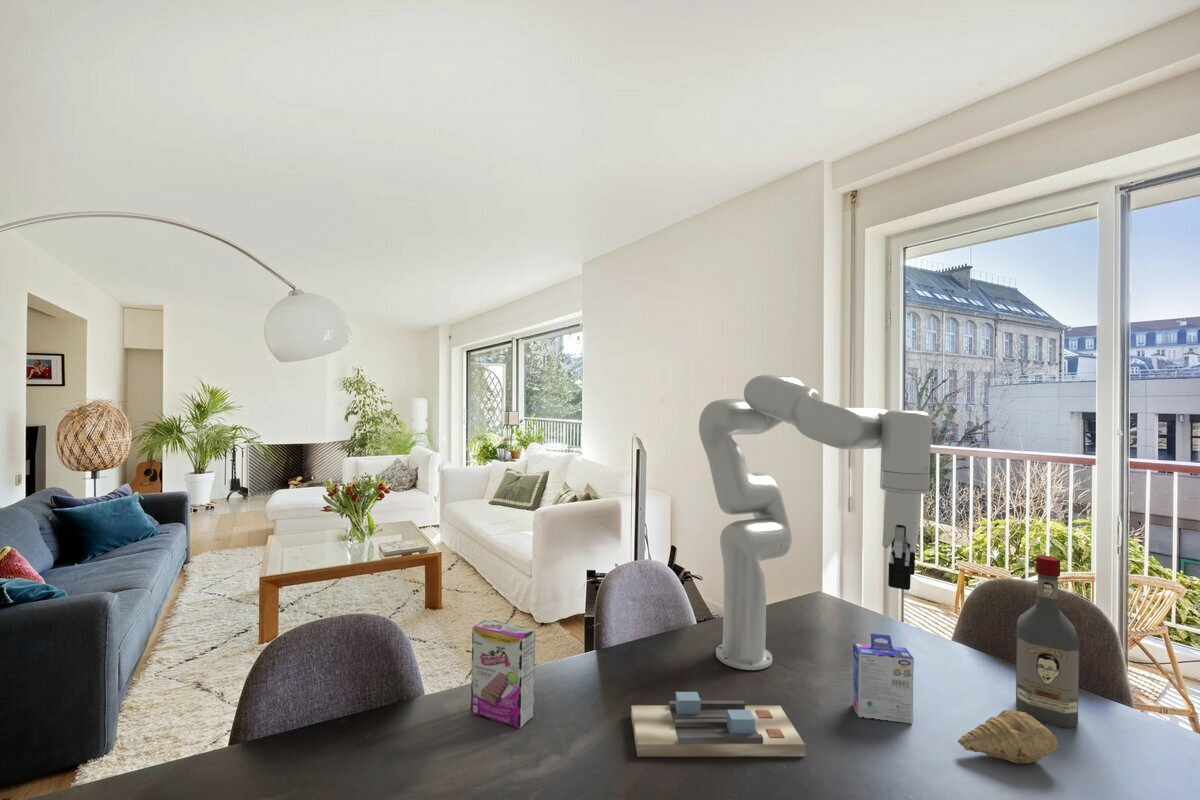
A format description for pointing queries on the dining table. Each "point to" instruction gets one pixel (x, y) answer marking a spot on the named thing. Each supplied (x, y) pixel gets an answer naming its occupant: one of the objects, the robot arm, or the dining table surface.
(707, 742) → the switch board
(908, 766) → the dining table surface
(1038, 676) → the liquor
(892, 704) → the ink cartridge box
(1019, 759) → the seashell
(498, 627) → the candy bar box
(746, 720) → the tab
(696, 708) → the tab
